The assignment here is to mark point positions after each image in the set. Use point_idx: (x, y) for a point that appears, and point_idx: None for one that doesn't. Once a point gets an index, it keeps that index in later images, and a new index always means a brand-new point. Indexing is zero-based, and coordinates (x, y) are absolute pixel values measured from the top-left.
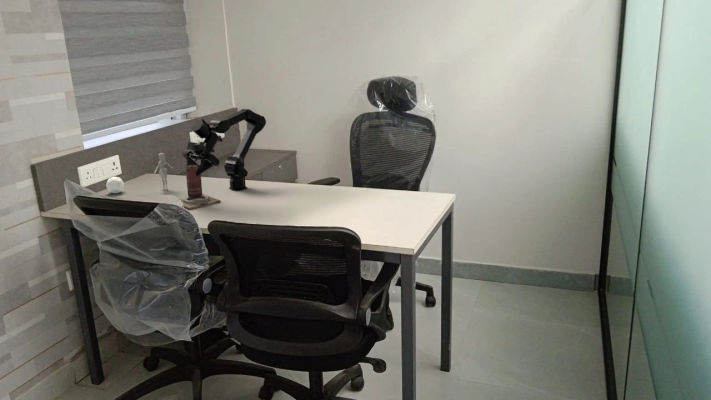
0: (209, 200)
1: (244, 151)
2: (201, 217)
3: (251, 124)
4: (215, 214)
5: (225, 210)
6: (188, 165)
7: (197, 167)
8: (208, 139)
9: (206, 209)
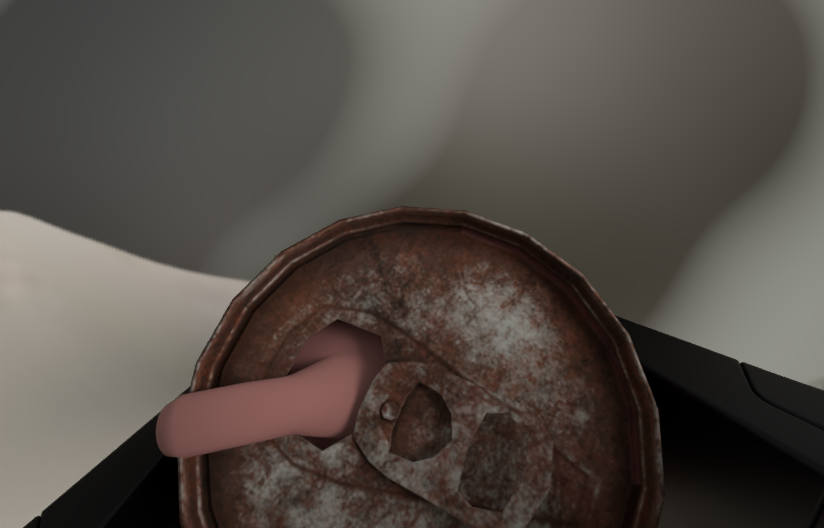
0: None
1: None
2: (60, 233)
3: None
4: (13, 336)
5: (8, 455)
6: (619, 362)
7: (189, 478)
8: None
9: (177, 356)
